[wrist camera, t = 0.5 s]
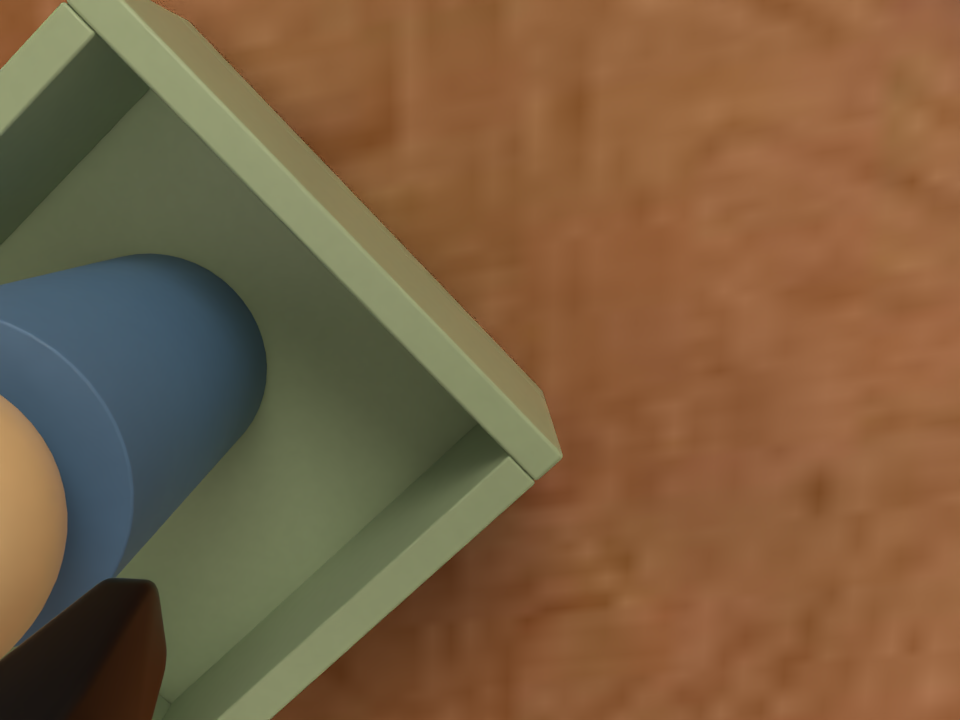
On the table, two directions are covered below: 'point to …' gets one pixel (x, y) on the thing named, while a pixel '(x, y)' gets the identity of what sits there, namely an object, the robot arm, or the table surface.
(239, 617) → the green square tray
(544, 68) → the table surface
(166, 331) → the peg doll
